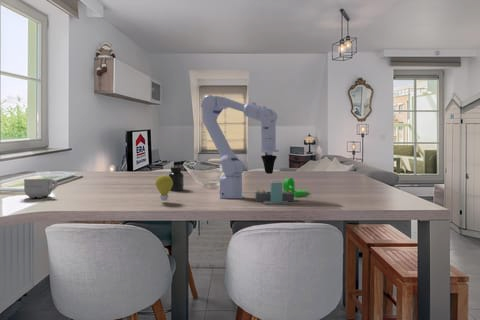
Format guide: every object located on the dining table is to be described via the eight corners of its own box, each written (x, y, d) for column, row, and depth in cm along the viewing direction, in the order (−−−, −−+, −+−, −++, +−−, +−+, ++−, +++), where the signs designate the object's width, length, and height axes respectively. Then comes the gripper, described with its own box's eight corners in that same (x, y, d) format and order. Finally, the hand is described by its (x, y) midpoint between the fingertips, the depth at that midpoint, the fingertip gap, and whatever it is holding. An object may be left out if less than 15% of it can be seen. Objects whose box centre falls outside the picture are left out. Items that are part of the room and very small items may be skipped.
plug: (270, 202, 143) (270, 180, 143) (269, 201, 147) (269, 179, 147) (283, 202, 143) (283, 180, 143) (281, 201, 148) (281, 179, 147)
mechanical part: (295, 197, 164) (295, 178, 164) (283, 196, 168) (283, 178, 168) (310, 195, 173) (310, 177, 173) (298, 194, 177) (298, 176, 177)
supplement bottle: (181, 192, 188) (181, 166, 188) (185, 193, 182) (185, 167, 182) (167, 192, 185) (166, 167, 185) (171, 193, 179) (170, 167, 179)
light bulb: (158, 201, 150) (158, 175, 150) (153, 199, 156) (153, 174, 156) (175, 200, 153) (175, 175, 153) (169, 199, 159) (169, 174, 159)
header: (256, 201, 150) (256, 191, 150) (255, 199, 157) (255, 189, 157) (294, 201, 150) (294, 191, 150) (291, 199, 157) (291, 189, 157)
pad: (264, 204, 141) (264, 203, 141) (263, 201, 149) (263, 200, 149) (289, 204, 141) (289, 203, 141) (287, 201, 149) (287, 200, 149)
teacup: (18, 198, 163) (17, 178, 163) (40, 195, 173) (40, 177, 173) (42, 199, 158) (42, 179, 158) (64, 196, 168) (64, 178, 168)
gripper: (280, 138, 150) (280, 173, 150) (276, 139, 164) (277, 172, 165) (261, 138, 150) (262, 174, 150) (259, 139, 164) (260, 172, 165)
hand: (268, 173), depth 157 cm, fingers open, 7 cm apart
